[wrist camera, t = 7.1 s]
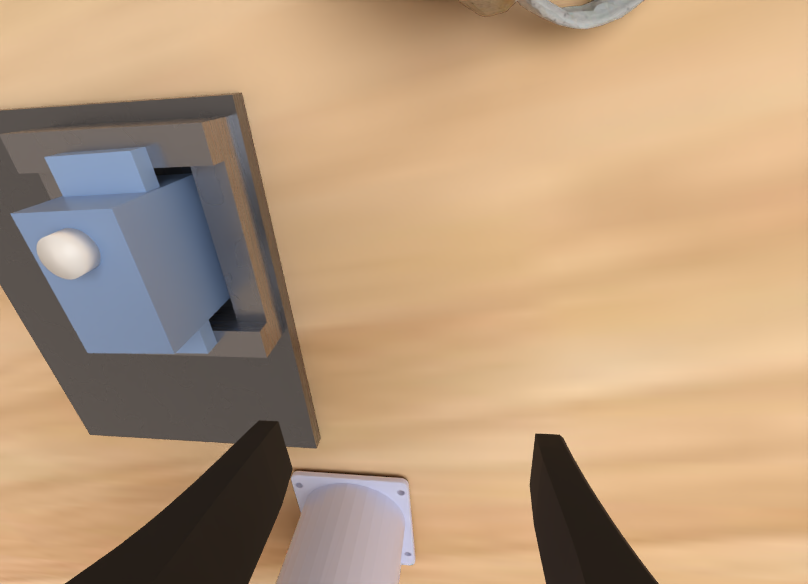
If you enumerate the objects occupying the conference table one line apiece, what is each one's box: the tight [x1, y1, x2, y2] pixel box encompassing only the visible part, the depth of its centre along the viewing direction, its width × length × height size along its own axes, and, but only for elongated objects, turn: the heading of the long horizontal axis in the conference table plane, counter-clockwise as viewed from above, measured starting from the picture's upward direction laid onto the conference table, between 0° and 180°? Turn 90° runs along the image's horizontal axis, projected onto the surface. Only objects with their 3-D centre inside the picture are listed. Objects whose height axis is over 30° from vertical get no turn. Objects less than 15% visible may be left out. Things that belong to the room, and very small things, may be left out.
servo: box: [11, 147, 230, 354], centre depth 17 cm, size 9×4×6 cm, turn 5°
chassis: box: [0, 93, 320, 448], centre depth 22 cm, size 20×16×3 cm
